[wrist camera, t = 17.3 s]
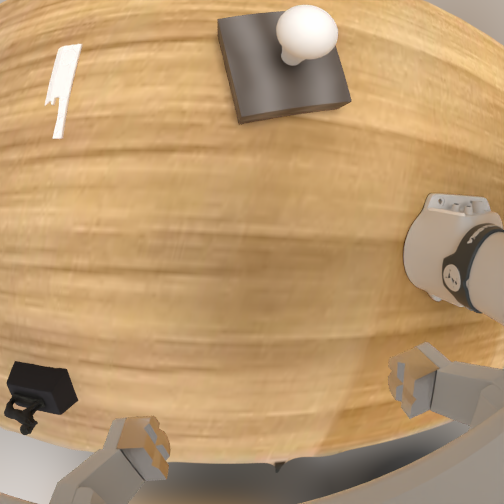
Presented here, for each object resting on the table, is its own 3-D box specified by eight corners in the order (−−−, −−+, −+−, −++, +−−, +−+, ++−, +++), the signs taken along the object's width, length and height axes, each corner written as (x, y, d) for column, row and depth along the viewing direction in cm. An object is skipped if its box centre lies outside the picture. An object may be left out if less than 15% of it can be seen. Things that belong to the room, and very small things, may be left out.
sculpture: (79, 402, 45) (51, 457, 31) (25, 390, 44) (-7, 436, 30) (68, 368, 44) (33, 422, 29) (13, 358, 42) (-26, 401, 28)
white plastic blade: (37, 139, 35) (33, 139, 34) (58, 49, 32) (54, 47, 31) (63, 138, 36) (60, 138, 35) (84, 45, 33) (81, 43, 32)
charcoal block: (312, 24, 35) (322, 10, 30) (337, 109, 39) (351, 101, 34) (217, 35, 35) (217, 19, 30) (239, 124, 38) (241, 116, 33)
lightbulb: (305, 36, 31) (334, -6, 21) (320, 77, 33) (355, 43, 22) (259, 42, 31) (274, -4, 20) (272, 84, 32) (294, 48, 22)
